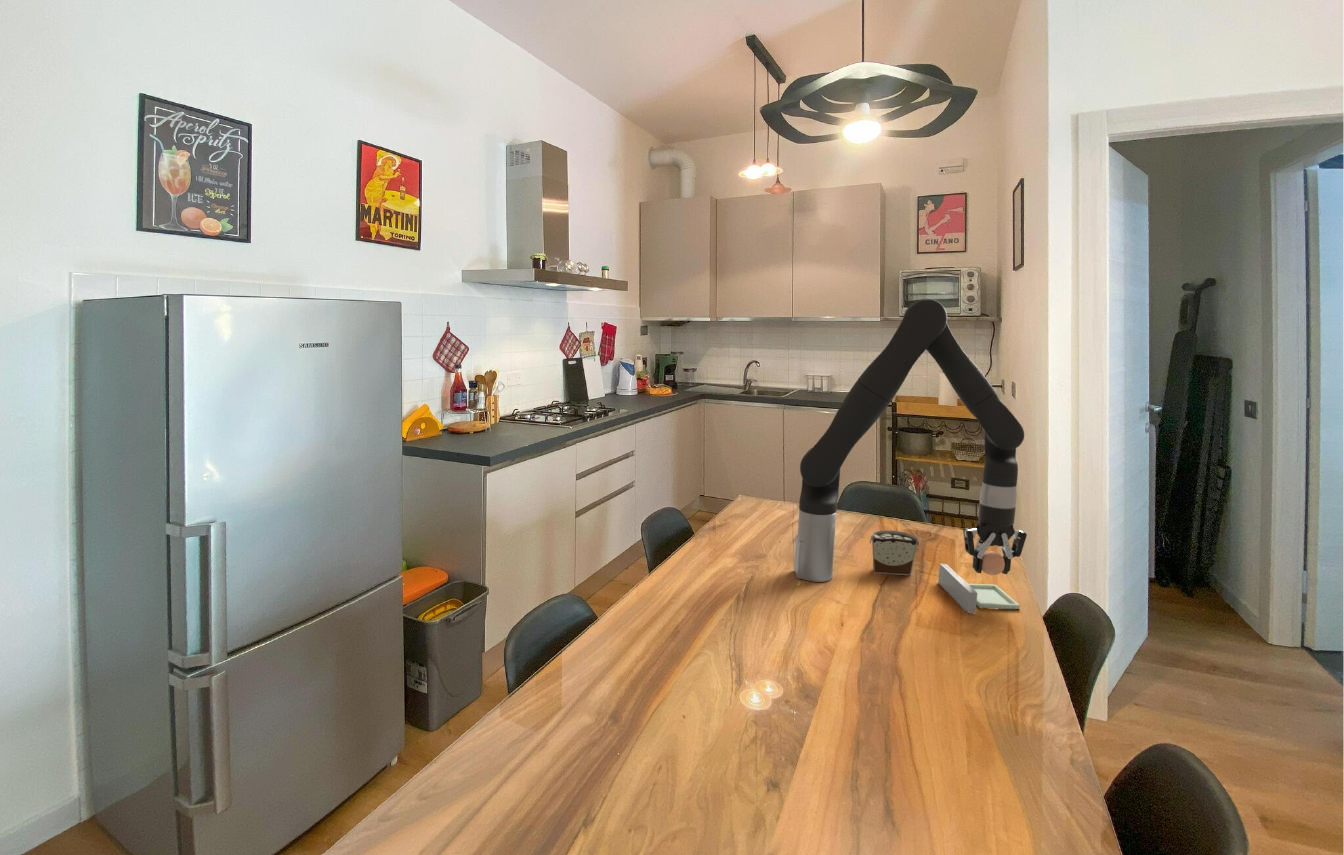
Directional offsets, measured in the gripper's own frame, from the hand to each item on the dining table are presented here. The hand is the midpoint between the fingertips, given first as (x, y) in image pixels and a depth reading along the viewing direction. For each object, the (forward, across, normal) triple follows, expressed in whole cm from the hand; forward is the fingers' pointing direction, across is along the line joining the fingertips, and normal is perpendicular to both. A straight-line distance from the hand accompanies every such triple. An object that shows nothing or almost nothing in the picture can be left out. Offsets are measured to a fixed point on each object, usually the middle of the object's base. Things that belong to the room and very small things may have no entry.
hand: (990, 572), depth 154 cm
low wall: (+7, -8, 0) cm, 10 cm away
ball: (+1, 0, 0) cm, 1 cm away
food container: (+7, -18, +17) cm, 26 cm away
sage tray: (+7, 0, 0) cm, 7 cm away
